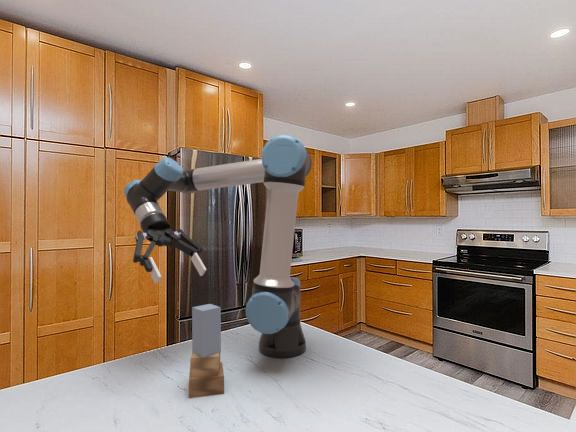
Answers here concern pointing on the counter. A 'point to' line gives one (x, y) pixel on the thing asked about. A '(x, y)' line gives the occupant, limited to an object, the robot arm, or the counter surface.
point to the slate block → (206, 330)
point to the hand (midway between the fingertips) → (182, 276)
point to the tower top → (204, 365)
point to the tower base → (207, 385)
